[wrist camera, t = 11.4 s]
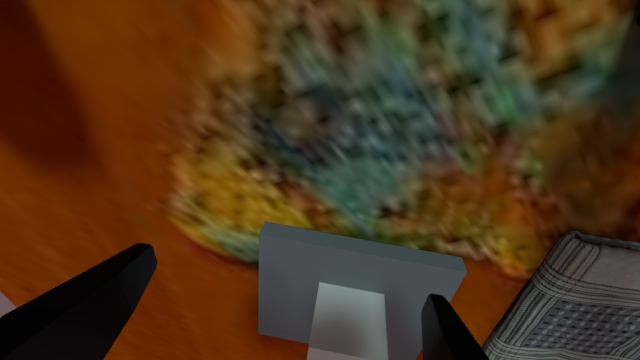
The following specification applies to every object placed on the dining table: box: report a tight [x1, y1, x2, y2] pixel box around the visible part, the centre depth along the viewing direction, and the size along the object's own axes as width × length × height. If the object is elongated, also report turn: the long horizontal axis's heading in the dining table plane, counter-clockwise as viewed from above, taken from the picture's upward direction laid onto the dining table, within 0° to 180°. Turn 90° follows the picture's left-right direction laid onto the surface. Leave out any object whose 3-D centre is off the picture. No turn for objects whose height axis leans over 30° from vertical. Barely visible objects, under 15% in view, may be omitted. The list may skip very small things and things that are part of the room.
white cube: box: [306, 282, 388, 360], centre depth 24 cm, size 6×6×6 cm
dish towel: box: [482, 231, 640, 360], centre depth 24 cm, size 19×18×3 cm
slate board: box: [258, 222, 467, 360], centre depth 27 cm, size 16×14×2 cm
